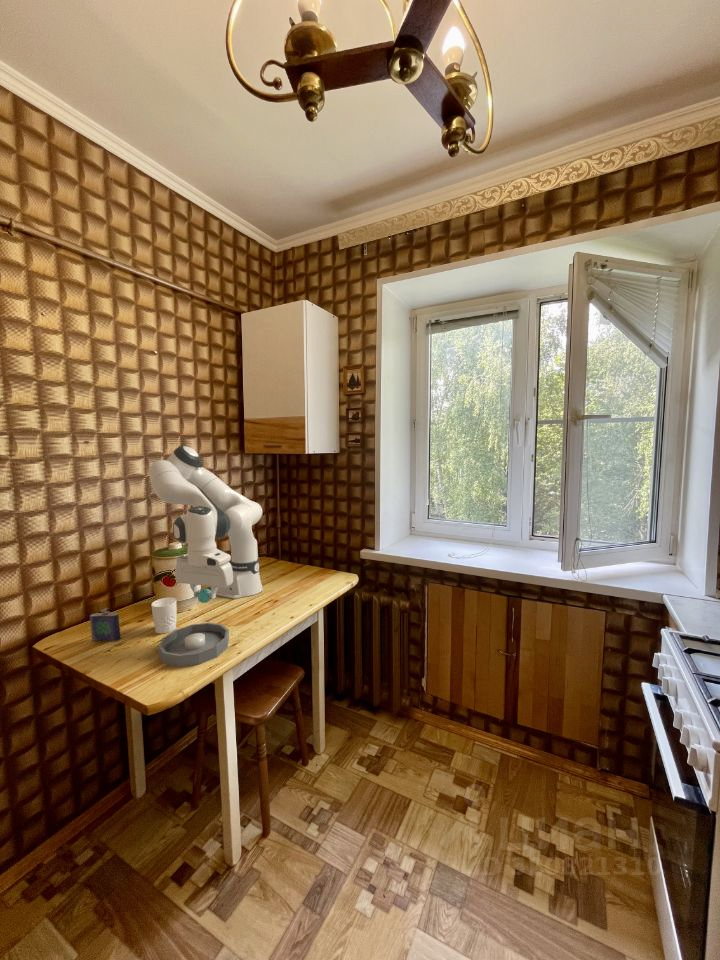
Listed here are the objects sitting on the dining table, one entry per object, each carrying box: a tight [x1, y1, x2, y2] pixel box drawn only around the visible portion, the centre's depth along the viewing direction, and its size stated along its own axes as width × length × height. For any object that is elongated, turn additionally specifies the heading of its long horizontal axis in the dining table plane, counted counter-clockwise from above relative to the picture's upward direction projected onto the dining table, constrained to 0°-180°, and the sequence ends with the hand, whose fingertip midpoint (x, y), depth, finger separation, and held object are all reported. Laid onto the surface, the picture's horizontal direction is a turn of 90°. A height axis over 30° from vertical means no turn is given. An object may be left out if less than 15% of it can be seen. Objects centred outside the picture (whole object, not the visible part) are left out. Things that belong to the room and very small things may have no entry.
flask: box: [89, 607, 122, 643], centre depth 128 cm, size 9×3×11 cm, turn 90°
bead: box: [196, 588, 212, 604], centre depth 126 cm, size 4×4×4 cm
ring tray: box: [157, 622, 230, 668], centre depth 122 cm, size 20×20×4 cm
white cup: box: [151, 597, 178, 635], centre depth 134 cm, size 8×8×10 cm
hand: (204, 597), depth 126 cm, fingers closed on bead, 4 cm apart
